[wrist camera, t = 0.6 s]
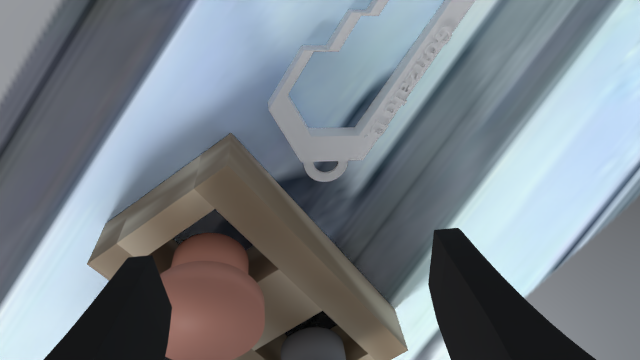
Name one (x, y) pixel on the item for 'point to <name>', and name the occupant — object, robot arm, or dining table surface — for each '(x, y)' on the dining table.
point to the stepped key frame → (375, 120)
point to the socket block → (258, 251)
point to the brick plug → (212, 300)
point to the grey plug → (313, 345)
